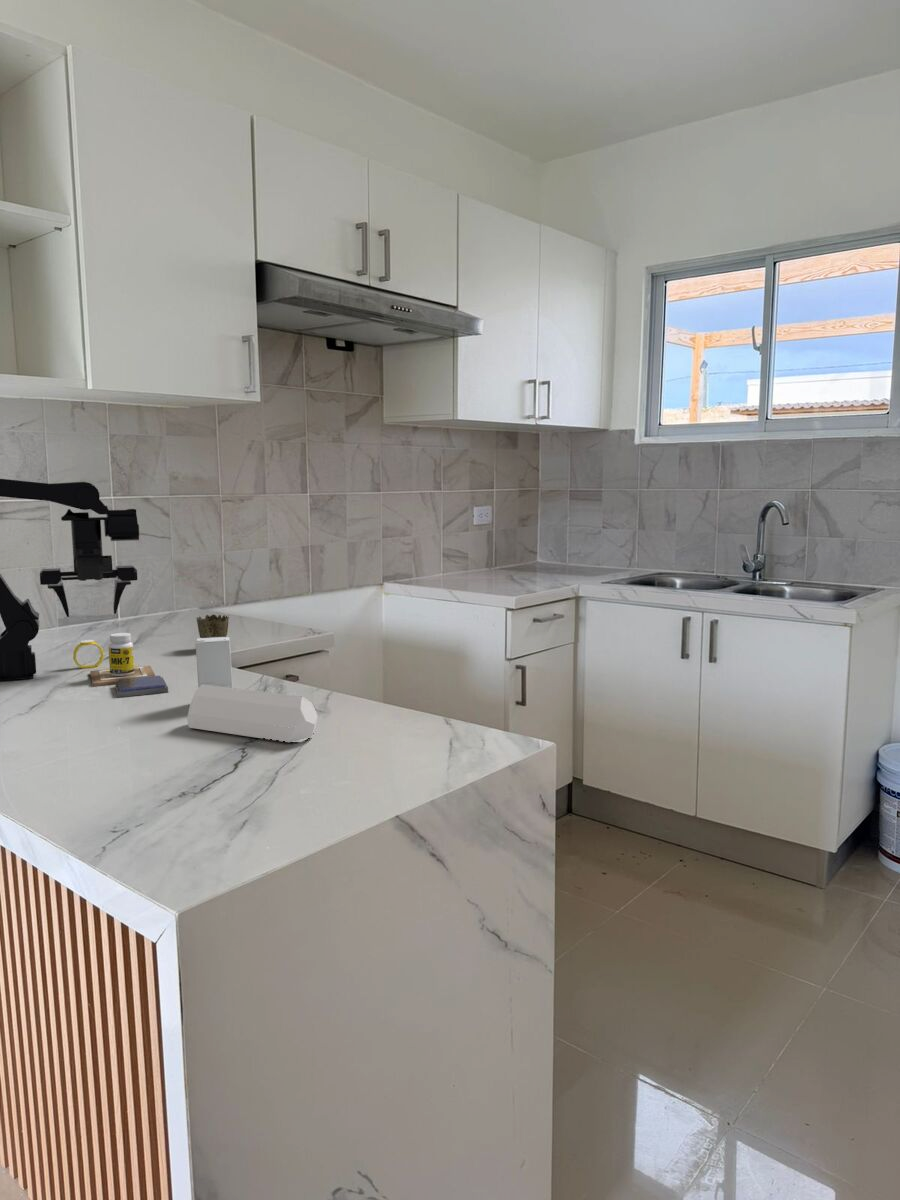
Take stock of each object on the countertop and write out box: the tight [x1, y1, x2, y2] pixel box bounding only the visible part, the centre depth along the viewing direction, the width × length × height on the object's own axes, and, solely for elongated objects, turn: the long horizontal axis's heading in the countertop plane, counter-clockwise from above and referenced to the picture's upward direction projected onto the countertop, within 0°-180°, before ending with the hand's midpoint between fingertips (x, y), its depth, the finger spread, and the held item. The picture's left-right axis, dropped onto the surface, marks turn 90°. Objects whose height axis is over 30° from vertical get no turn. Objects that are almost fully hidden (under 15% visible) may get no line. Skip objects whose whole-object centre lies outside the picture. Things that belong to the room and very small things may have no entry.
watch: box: [72, 639, 105, 669], centre depth 182 cm, size 6×3×6 cm, turn 122°
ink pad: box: [114, 675, 169, 698], centre depth 163 cm, size 9×9×2 cm
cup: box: [196, 614, 230, 638], centre depth 201 cm, size 8×7×8 cm
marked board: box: [89, 665, 156, 687], centre depth 173 cm, size 12×12×1 cm
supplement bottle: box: [108, 632, 135, 676], centre depth 173 cm, size 5×5×8 cm
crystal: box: [186, 684, 319, 743], centre depth 136 cm, size 7×7×24 cm
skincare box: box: [194, 636, 234, 689], centre depth 152 cm, size 6×4×12 cm
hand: (91, 615), depth 178 cm, fingers open, 9 cm apart
